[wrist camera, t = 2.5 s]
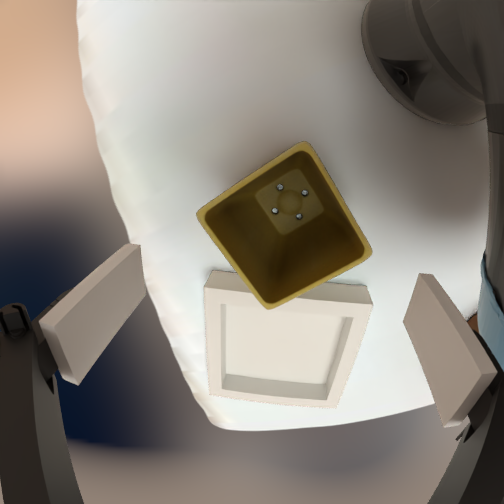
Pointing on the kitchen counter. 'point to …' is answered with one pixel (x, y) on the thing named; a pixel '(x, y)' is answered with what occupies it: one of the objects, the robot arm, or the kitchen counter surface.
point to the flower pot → (285, 228)
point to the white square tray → (283, 342)
